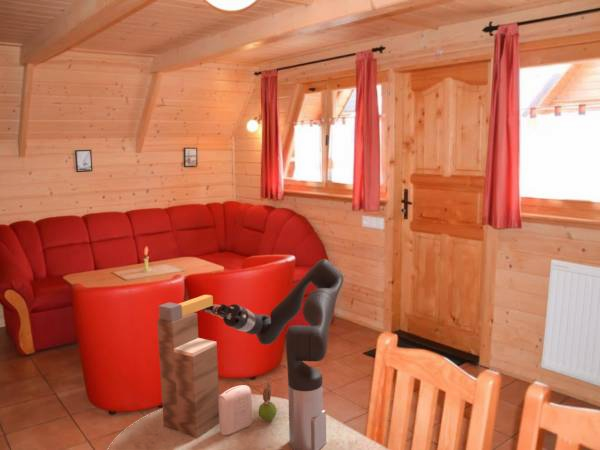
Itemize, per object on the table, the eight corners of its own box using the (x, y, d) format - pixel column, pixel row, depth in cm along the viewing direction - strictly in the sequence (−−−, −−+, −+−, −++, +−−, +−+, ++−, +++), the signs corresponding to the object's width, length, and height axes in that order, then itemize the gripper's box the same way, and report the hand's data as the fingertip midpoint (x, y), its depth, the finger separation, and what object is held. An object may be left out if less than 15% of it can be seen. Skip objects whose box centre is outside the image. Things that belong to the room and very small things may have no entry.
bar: (215, 305, 167) (214, 293, 166) (171, 322, 152) (171, 308, 151) (203, 303, 169) (202, 291, 169) (159, 319, 154) (158, 305, 154)
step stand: (220, 422, 160) (215, 316, 156) (196, 438, 152) (191, 326, 147) (187, 412, 167) (182, 310, 163) (163, 426, 159) (157, 319, 154)
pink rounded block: (245, 419, 162) (244, 380, 161) (254, 424, 159) (253, 384, 158) (217, 432, 155) (215, 391, 154) (226, 437, 152) (224, 396, 151)
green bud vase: (279, 414, 165) (278, 376, 163) (274, 424, 159) (273, 386, 157) (261, 413, 166) (260, 375, 164) (256, 423, 160) (255, 385, 158)
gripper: (226, 304, 187) (197, 291, 174) (259, 310, 179) (232, 296, 166) (219, 325, 184) (190, 313, 172) (253, 332, 177) (225, 320, 164)
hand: (210, 305), depth 169 cm, fingers open, 8 cm apart
